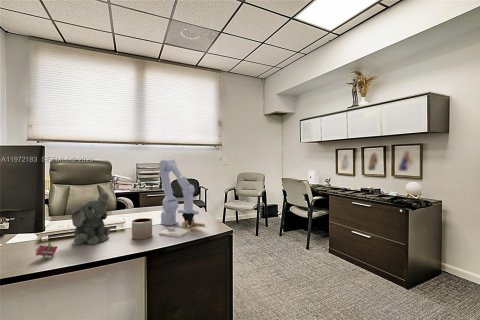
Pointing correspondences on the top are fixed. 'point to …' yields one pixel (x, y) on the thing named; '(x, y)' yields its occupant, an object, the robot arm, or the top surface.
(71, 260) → the top surface
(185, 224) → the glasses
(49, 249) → the geometric puzzle
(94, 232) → the stuffed elephant
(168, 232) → the stand
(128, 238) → the top surface
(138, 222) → the planter
